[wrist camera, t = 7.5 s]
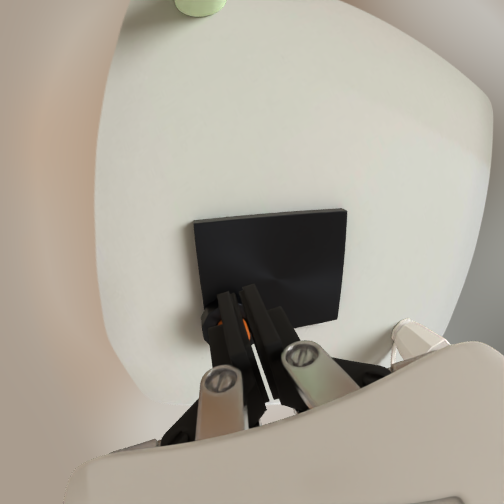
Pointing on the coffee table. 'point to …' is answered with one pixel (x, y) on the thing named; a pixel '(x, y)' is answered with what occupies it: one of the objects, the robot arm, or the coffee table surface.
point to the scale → (274, 263)
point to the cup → (414, 340)
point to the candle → (199, 7)
